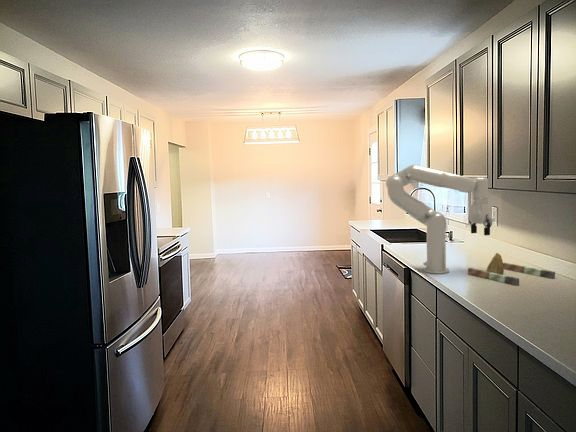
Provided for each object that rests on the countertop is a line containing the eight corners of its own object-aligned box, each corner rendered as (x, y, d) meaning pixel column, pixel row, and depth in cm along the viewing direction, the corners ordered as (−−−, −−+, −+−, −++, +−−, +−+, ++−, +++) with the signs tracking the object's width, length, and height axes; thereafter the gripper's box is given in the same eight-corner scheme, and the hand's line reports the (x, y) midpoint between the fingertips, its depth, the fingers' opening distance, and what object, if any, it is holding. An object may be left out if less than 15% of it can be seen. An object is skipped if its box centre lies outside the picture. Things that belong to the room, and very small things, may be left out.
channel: (468, 274, 226) (468, 268, 225) (504, 268, 236) (504, 262, 236) (516, 285, 200) (516, 279, 200) (554, 278, 210) (555, 271, 210)
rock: (509, 271, 219) (509, 264, 227) (497, 257, 219) (498, 251, 228) (490, 282, 224) (490, 275, 232) (479, 269, 225) (480, 263, 233)
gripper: (462, 201, 237) (463, 233, 238) (486, 202, 220) (486, 236, 222) (474, 200, 239) (474, 231, 240) (498, 201, 222) (498, 235, 224)
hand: (480, 234), depth 231 cm, fingers open, 9 cm apart
